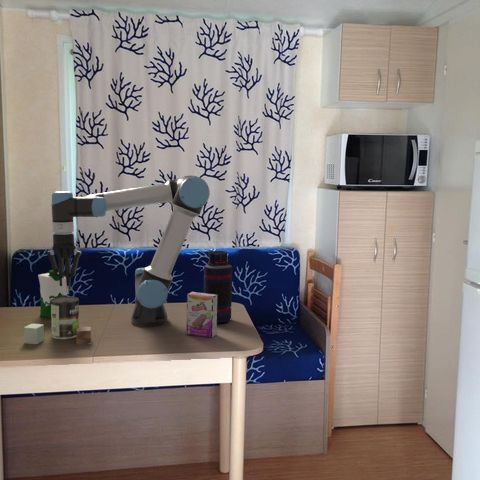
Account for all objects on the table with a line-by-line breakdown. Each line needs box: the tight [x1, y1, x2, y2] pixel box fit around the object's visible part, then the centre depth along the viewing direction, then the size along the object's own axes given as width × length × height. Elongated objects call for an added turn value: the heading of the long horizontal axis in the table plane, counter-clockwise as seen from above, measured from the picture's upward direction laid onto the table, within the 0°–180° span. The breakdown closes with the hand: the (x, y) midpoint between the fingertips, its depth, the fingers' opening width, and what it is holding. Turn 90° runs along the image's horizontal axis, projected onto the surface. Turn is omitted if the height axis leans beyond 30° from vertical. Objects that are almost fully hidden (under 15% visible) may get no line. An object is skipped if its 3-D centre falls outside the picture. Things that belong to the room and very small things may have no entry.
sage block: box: [23, 323, 45, 345], centre depth 201 cm, size 5×5×6 cm
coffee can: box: [50, 296, 80, 340], centre depth 208 cm, size 10×10×14 cm
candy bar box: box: [185, 291, 218, 339], centre depth 212 cm, size 11×5×16 cm, turn 71°
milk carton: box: [37, 269, 64, 319], centre depth 233 cm, size 9×9×20 cm
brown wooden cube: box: [76, 326, 92, 345], centre depth 202 cm, size 5×5×5 cm
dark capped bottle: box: [203, 250, 233, 324], centre depth 231 cm, size 14×12×30 cm
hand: (65, 294), depth 207 cm, fingers closed
